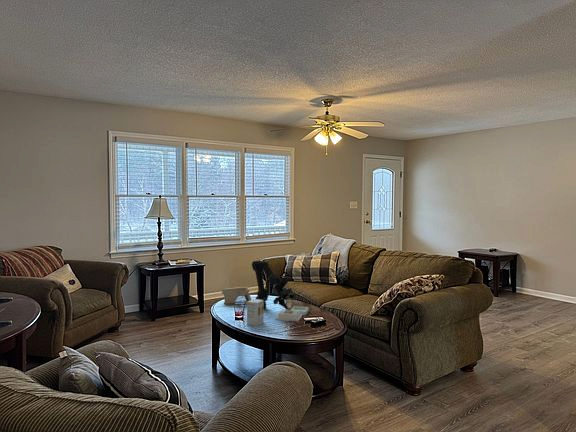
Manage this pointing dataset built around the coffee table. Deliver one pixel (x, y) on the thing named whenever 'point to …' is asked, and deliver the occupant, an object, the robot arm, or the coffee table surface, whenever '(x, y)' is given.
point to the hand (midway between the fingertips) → (289, 308)
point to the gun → (235, 295)
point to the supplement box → (255, 312)
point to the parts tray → (301, 310)
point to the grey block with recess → (288, 315)
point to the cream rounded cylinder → (289, 305)
